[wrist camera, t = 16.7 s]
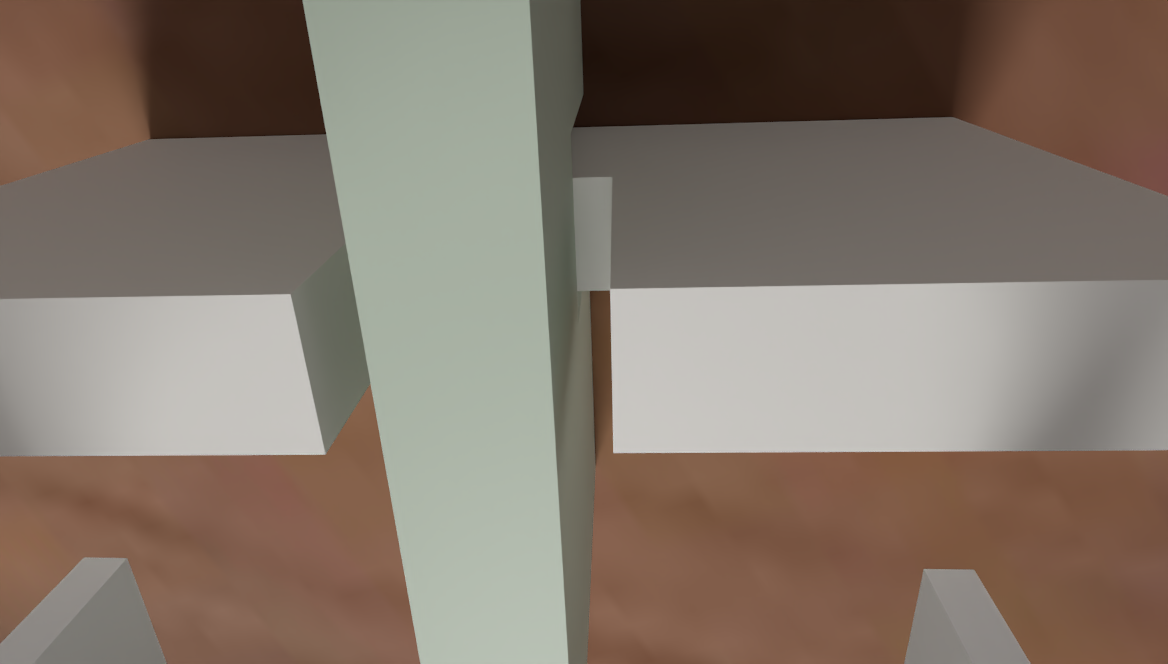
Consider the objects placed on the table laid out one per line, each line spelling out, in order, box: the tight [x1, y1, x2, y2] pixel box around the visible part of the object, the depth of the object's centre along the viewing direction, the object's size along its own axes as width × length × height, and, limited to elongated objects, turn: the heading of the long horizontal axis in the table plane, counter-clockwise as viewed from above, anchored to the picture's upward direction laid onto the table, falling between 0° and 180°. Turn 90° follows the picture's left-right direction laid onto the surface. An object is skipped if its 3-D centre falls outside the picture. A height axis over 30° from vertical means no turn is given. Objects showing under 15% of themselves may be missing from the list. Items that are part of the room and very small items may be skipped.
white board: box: [0, 117, 1168, 456], centre depth 15 cm, size 22×2×12 cm, turn 92°
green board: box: [303, 0, 595, 664], centre depth 15 cm, size 20×2×12 cm, turn 2°
